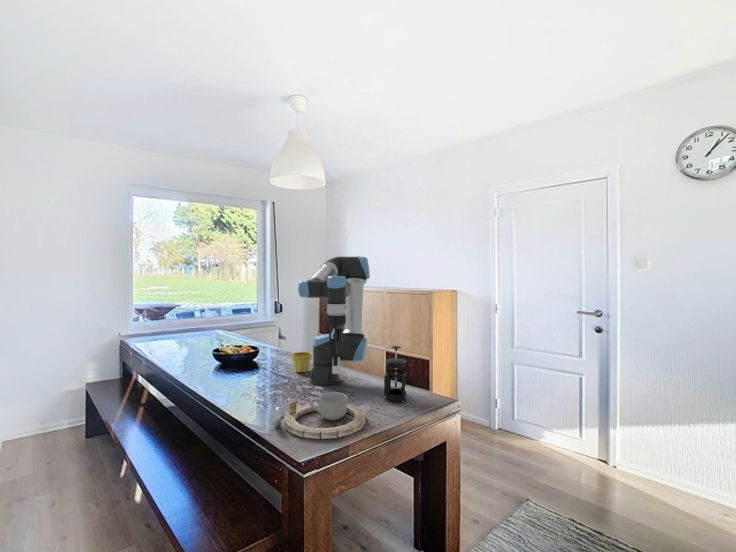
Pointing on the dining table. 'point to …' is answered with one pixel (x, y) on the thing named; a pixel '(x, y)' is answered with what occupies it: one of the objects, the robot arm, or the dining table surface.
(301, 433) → the ring
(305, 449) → the dining table surface
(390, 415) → the dining table surface
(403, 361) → the french press
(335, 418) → the teacup
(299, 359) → the plant pot
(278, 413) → the shiny cylinder
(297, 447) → the dining table surface
